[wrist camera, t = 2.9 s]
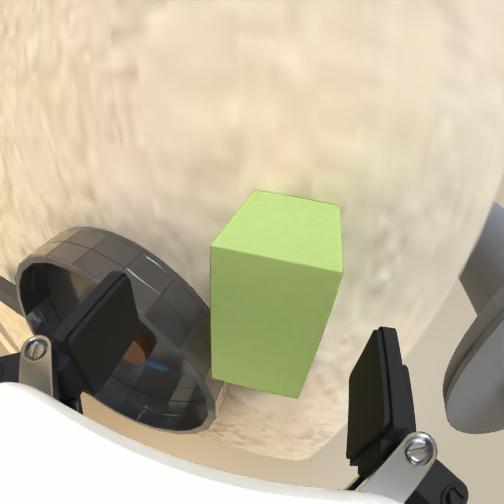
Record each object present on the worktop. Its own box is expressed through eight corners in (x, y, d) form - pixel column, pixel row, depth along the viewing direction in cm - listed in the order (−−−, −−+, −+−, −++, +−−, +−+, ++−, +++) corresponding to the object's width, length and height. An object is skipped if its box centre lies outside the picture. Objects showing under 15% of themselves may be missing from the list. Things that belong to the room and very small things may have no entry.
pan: (240, 259, 15) (213, 306, 12) (229, 420, 25) (217, 453, 22) (25, 211, 19) (-9, 232, 15) (79, 359, 29) (61, 382, 25)
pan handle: (39, 298, 22) (29, 308, 20) (47, 316, 23) (37, 326, 22) (-6, 272, 24) (-14, 279, 22) (1, 288, 25) (-7, 295, 23)
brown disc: (147, 330, 20) (140, 339, 19) (155, 362, 22) (149, 370, 21) (106, 314, 21) (99, 322, 20) (116, 346, 23) (111, 354, 22)
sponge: (339, 205, 13) (343, 272, 8) (310, 319, 16) (297, 399, 12) (253, 189, 13) (209, 244, 9) (243, 304, 17) (211, 378, 12)
